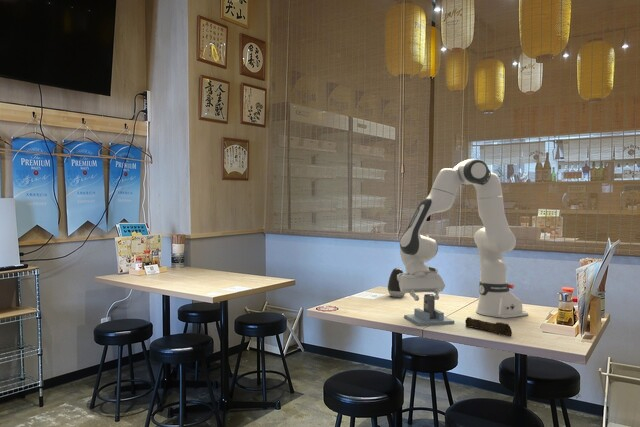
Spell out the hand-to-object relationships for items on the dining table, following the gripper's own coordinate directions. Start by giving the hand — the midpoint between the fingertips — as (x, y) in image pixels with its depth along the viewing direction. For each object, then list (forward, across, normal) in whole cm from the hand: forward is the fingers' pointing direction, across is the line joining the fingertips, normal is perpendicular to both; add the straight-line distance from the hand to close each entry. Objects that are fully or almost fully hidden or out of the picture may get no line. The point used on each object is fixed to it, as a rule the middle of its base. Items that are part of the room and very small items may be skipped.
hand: (427, 299), depth 203 cm
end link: (+6, 0, +4) cm, 8 cm away
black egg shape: (-29, +8, +41) cm, 51 cm away
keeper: (+7, 0, +5) cm, 9 cm away
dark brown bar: (+21, +16, -9) cm, 28 cm away
